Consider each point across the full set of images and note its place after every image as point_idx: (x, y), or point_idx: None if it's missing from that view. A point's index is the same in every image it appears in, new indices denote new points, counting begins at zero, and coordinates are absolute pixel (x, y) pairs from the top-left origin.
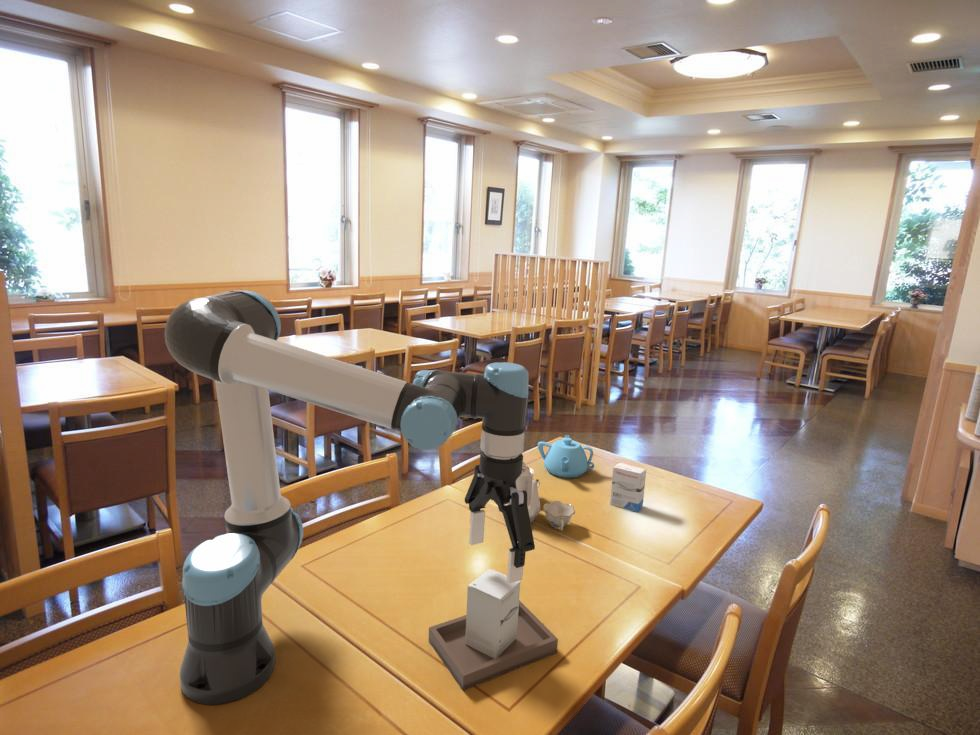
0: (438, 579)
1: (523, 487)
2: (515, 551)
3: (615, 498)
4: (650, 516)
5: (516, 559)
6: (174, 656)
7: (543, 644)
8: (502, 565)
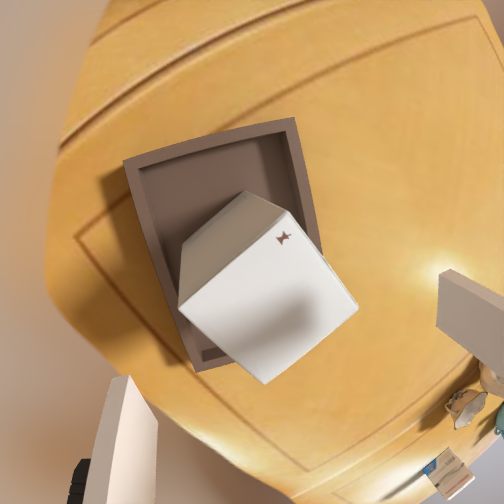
0: (438, 193)
1: None
2: None
3: (449, 456)
4: (409, 478)
5: (83, 494)
6: None
7: (184, 345)
8: (431, 314)
